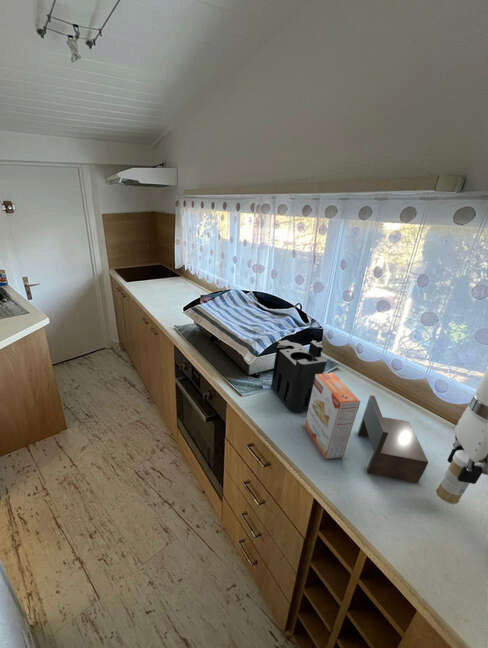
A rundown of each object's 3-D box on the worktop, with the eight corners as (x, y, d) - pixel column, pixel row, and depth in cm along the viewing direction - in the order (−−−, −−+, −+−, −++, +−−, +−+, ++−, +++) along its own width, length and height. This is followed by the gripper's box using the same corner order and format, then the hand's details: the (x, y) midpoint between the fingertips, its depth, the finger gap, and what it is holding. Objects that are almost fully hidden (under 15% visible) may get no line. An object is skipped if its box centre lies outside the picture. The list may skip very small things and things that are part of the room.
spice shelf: (400, 441, 94) (417, 402, 87) (417, 483, 80) (439, 441, 73) (357, 433, 97) (370, 395, 90) (367, 473, 84) (383, 431, 76)
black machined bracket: (292, 415, 105) (302, 360, 94) (265, 382, 123) (271, 333, 112) (322, 410, 107) (336, 355, 97) (292, 378, 125) (300, 329, 114)
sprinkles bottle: (448, 487, 76) (469, 448, 70) (464, 504, 72) (488, 464, 66) (430, 489, 76) (450, 449, 70) (445, 505, 72) (467, 465, 65)
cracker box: (302, 426, 100) (314, 372, 90) (320, 425, 100) (334, 371, 90) (323, 460, 88) (339, 401, 78) (343, 458, 88) (362, 400, 78)
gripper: (548, 442, 53) (501, 508, 62) (495, 388, 67) (463, 448, 76) (495, 434, 55) (457, 499, 64) (454, 383, 69) (427, 442, 78)
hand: (460, 471), depth 70 cm, fingers closed on sprinkles bottle, 4 cm apart
